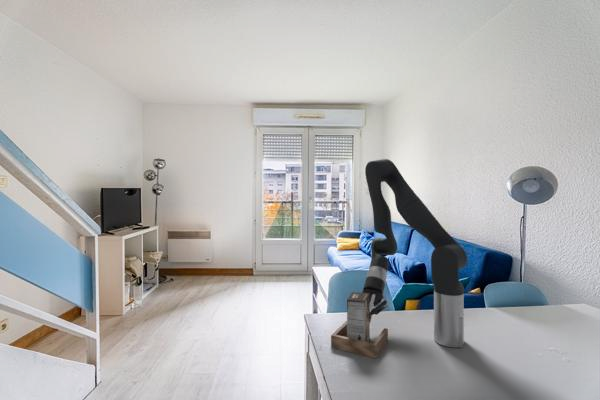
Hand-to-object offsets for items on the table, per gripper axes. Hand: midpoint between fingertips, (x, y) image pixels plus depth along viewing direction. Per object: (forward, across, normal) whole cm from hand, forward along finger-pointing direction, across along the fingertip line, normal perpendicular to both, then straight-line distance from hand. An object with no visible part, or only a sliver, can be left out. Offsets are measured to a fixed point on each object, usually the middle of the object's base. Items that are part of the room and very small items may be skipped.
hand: (365, 323), depth 116 cm
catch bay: (+8, 0, -1) cm, 8 cm away
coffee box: (+7, 0, 0) cm, 7 cm away
